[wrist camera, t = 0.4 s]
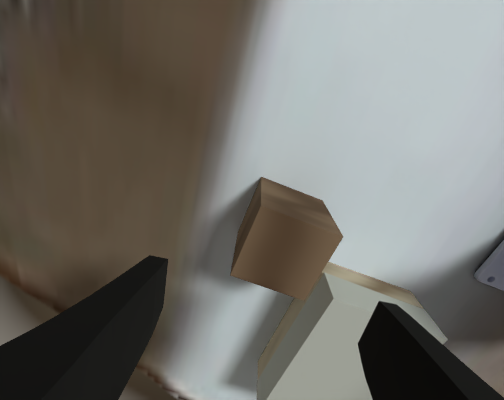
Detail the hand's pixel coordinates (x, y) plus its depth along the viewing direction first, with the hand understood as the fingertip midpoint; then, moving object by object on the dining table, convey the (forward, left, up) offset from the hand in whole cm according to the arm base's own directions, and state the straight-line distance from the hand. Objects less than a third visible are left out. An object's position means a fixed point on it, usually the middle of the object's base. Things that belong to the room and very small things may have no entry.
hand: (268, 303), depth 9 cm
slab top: (-9, +9, -8) cm, 15 cm away
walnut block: (-1, +1, -10) cm, 10 cm away
